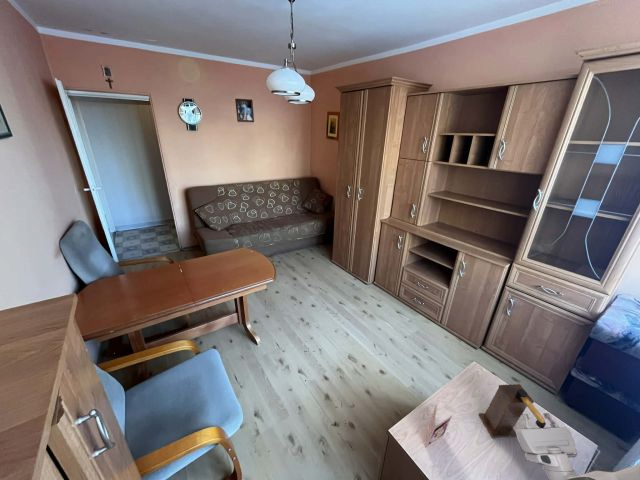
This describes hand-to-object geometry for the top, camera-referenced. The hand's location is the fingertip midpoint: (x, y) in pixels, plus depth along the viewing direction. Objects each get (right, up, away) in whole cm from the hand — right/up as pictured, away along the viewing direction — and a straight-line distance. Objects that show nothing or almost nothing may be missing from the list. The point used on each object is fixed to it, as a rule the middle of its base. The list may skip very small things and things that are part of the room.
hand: (535, 413), depth 104 cm
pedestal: (-2, -19, +20) cm, 27 cm away
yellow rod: (0, -1, +3) cm, 3 cm away
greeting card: (-36, -20, +15) cm, 43 cm away
